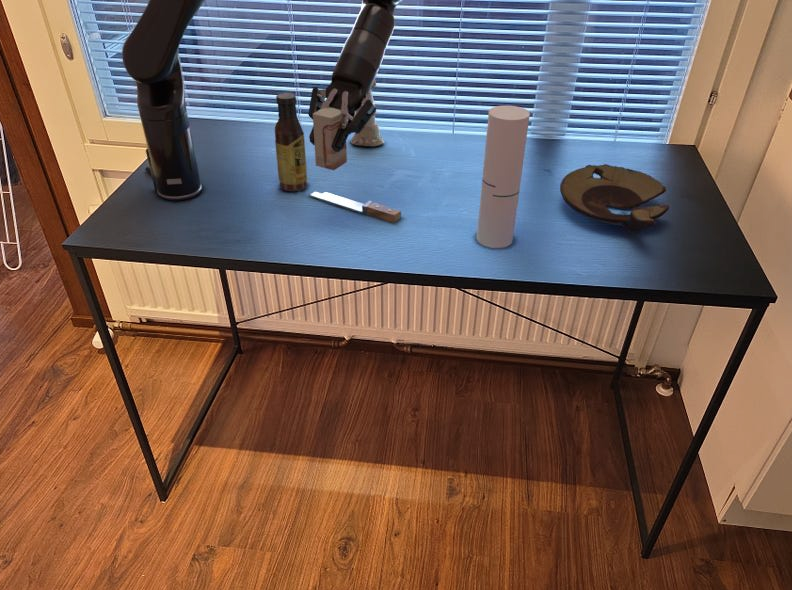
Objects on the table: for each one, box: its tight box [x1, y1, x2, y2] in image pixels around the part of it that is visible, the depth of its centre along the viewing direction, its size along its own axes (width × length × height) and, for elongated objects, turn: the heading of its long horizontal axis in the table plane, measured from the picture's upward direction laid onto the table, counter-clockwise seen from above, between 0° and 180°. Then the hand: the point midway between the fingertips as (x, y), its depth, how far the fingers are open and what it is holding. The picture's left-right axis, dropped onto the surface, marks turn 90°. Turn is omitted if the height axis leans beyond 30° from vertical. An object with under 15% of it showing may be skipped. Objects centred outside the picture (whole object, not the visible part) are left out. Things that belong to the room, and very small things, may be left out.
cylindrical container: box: [476, 105, 531, 249], centre depth 124 cm, size 7×7×25 cm
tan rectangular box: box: [312, 107, 348, 171], centre depth 125 cm, size 5×4×10 cm
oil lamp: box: [559, 163, 670, 234], centre depth 137 cm, size 22×30×8 cm
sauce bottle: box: [274, 92, 308, 193], centre depth 142 cm, size 7×6×20 cm
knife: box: [309, 191, 402, 224], centre depth 141 cm, size 22×3×2 cm, turn 57°
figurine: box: [350, 79, 385, 147], centre depth 162 cm, size 9×8×20 cm
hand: (324, 146), depth 124 cm, fingers closed on tan rectangular box, 4 cm apart
